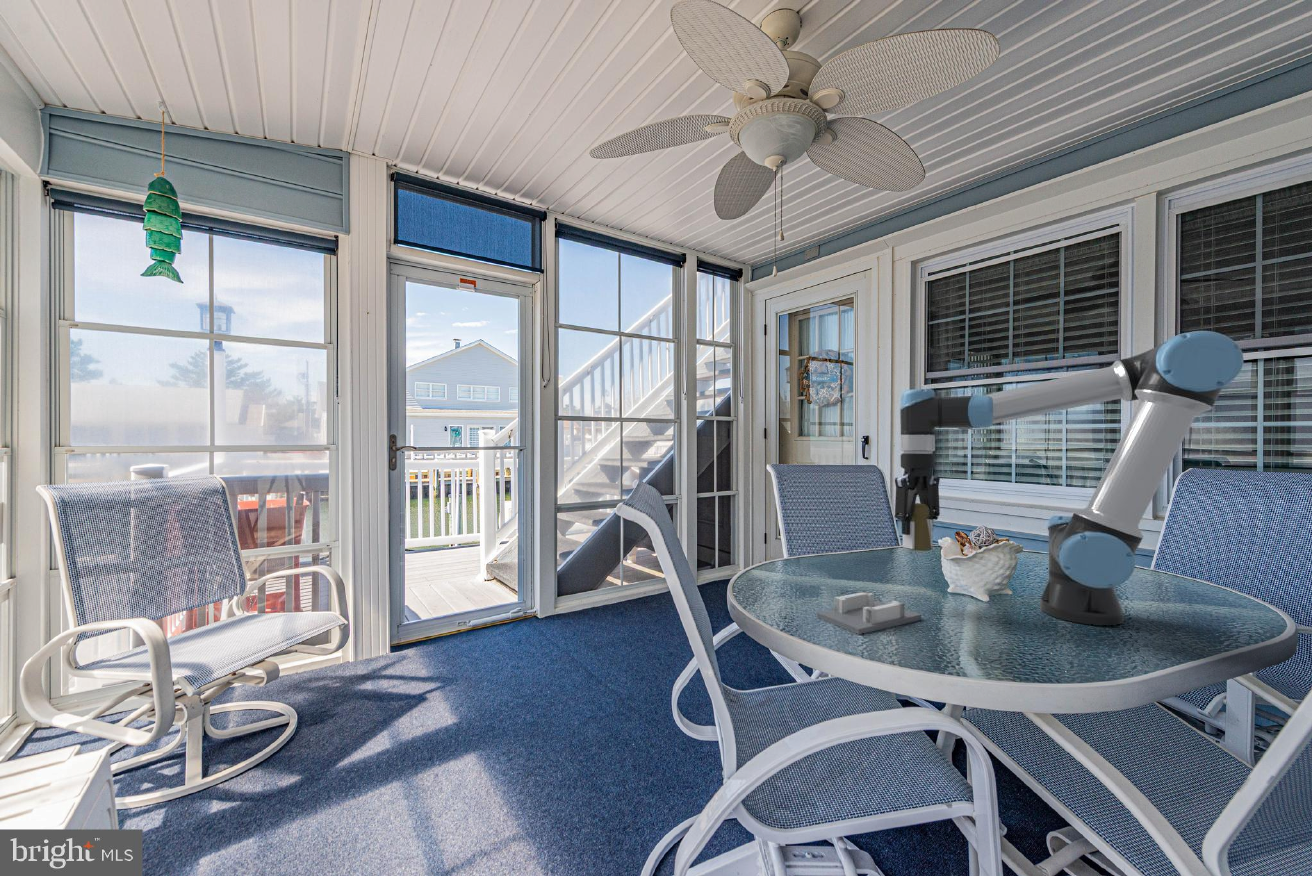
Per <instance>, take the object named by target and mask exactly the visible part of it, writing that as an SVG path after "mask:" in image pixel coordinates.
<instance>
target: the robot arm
mask: <svg viewBox="0 0 1312 876" xmlns="http://www.w3.org/2000/svg"><path fill="white" fill-rule="evenodd" d="M1243 366H1244V353H1243V351H1242V349H1241V348H1240V346H1239V345H1238V343H1237V342H1236V341H1235V340H1233V339H1232V338H1230V337H1228V336H1227V335H1225V334H1222V333H1220V332H1216V331H1210V330H1196V331H1195V330H1194V331H1189V332H1184V333H1180V334H1177V335H1174V336H1172V337H1171V338H1169V339H1167V340H1166V341H1165V342H1163V343H1161V344H1159V345H1157V346H1155V347H1153V348H1151V349H1149V350H1146V351H1144V352H1141V353H1139V354H1136V355H1133V356H1130V357H1127V358H1122V359H1118V360H1115V361H1114V362H1113V363H1112V365H1110V366H1107V367H1103V368H1099V369H1098V368H1097V369H1094V370H1090V371H1085V372H1081V373H1076V374H1072V375H1067V376H1062V377H1058V378H1055V379H1051V380H1046V381H1041V382H1037V383H1032V384H1028V385H1024V386H1023V385H1022V386H1020V387H1019V386H1018V387H1014V388H1011V389H1007V390H1002V391H997V392H992V393H988V394H985V395H978V394H974V395H963V396H962V395H960V396H946V397H945V396H944V397H943V396H936V393H935V390H933V389H930V388H925V389H924V388H923V389H922V388H918V389H917V388H916V389H907V390H904V391H903V392H902V393H901V397H900V408H899V409H900V411H899V413H900V414H899V415H900V450H901V451H902V452H903V453H901V454H900V468H902V469H904V471H903V475H902V476H901V477H895V478H894V484H895V500H894V501H895V503H894V507H895V508H894V518H895V519H897V520H898V521H901V535H902V548H904V547H905V548H904V549H906V548H909V549H908V550H910V549H914V522H912V517H913V512H914V507H915V503H917V496H918V498H919V503H921V504H925V505H927V506H928V507H929V515H928V517H927V522H928V529H929V536H930V543H931V548H932V547H933V545H934V543H933V542H934V539H933V536H934V535H933V534H934V520H935V521H936V520H938V519H939V516H940V515H941V514H940V513H941V511H940V510H941V509H940V491H939V487H940V486H939V485H940V479H941V477H939V476H933V474H932V472H931V470H933V469H935V465H936V463H935V462H936V455H935V453H933V452H935V451H936V443H935V442H936V437H935V436H936V434H935V433H936V432H935V430H936V429H959V430H961V431H962V430H963V431H966V430H972V429H981V428H991V426H993V425H994V424H998V423H1003V422H1009V421H1013V420H1014V421H1015V420H1018V419H1023V418H1024V419H1025V418H1028V417H1032V416H1033V417H1034V416H1039V415H1044V414H1049V413H1053V412H1057V411H1058V412H1060V411H1064V410H1069V409H1075V408H1079V407H1085V406H1089V405H1095V404H1099V403H1105V402H1109V401H1114V400H1118V399H1119V400H1123V401H1125V402H1132V401H1137V400H1138V401H1139V403H1138V405H1137V407H1136V409H1135V411H1134V413H1133V415H1132V417H1131V419H1130V421H1129V423H1128V424H1127V427H1126V428H1125V430H1124V433H1123V435H1122V437H1121V438H1120V441H1119V443H1118V445H1117V447H1116V448H1115V451H1114V452H1113V454H1112V457H1111V458H1110V460H1109V463H1108V464H1107V467H1106V469H1105V471H1104V472H1103V474H1102V477H1101V479H1100V480H1099V483H1098V484H1097V487H1096V489H1095V490H1094V493H1093V495H1092V496H1091V499H1090V500H1089V502H1088V504H1087V505H1086V507H1085V508H1082V509H1079V510H1075V511H1073V515H1071V516H1070V515H1066V516H1065V515H1053V516H1051V517H1049V519H1048V525H1047V531H1048V579H1047V582H1046V584H1045V587H1044V589H1043V592H1042V594H1041V597H1040V600H1039V609H1040V610H1041V612H1043V613H1044V614H1046V615H1049V616H1051V617H1053V618H1057V619H1061V620H1064V621H1069V622H1074V623H1078V624H1083V625H1085V624H1086V625H1091V624H1093V626H1102V625H1107V626H1108V625H1109V627H1111V626H1110V625H1113V626H1116V625H1115V624H1120V623H1122V624H1124V622H1123V621H1124V610H1123V607H1122V605H1121V603H1120V600H1119V598H1118V595H1117V593H1116V590H1115V587H1118V586H1120V585H1121V584H1124V583H1125V582H1126V581H1128V580H1129V579H1130V577H1132V575H1133V573H1134V571H1135V565H1136V558H1135V553H1136V551H1137V550H1138V548H1139V547H1140V546H1139V545H1140V544H1141V543H1142V540H1143V538H1144V534H1143V532H1141V529H1140V528H1139V524H1140V522H1141V521H1142V519H1143V517H1144V515H1145V513H1146V511H1147V509H1148V507H1149V505H1150V503H1151V502H1152V499H1153V497H1155V496H1154V495H1155V494H1156V492H1157V490H1158V488H1159V486H1160V484H1161V483H1162V481H1163V479H1164V477H1165V476H1166V473H1167V471H1168V469H1169V467H1170V466H1171V464H1172V461H1173V460H1174V458H1175V456H1176V454H1177V452H1178V450H1179V448H1180V446H1181V445H1182V443H1183V441H1184V439H1185V438H1186V435H1187V433H1188V432H1189V430H1190V428H1191V425H1192V424H1193V421H1194V420H1195V419H1196V416H1198V415H1199V414H1202V413H1205V412H1208V411H1211V410H1212V408H1213V406H1214V405H1215V403H1216V401H1217V399H1218V397H1219V396H1220V394H1221V391H1222V390H1223V388H1224V387H1226V386H1228V385H1229V384H1230V383H1232V381H1234V380H1235V379H1236V378H1237V377H1238V376H1239V374H1240V372H1241V371H1242V368H1243ZM1120 625H1121V624H1120ZM1107 626H1106V627H1107Z"/></svg>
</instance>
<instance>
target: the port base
mask: <svg viewBox="0 0 1312 876" xmlns="http://www.w3.org/2000/svg"><path fill="white" fill-rule="evenodd" d="M833 601H834V602H833V609H828V610H823V611H819V612H816V618H817V617H818V618H817V619H819V618H820V619H819V620H821V619H823V620H822V621H824V622H826V621H827V623H829V624H831V623H832V625H834V624H835V625H834V626H836V625H837V627H838V626H840V627H839V628H841V627H842V628H841V629H843V628H845V629H844V630H846V629H847V630H846V631H848V630H850V631H849V632H851V633H853V632H854V633H853V634H856V633H857V634H856V635H859V634H860V635H863V634H862V633H864V634H868V633H872V632H877V631H881V630H885V629H889V628H893V627H897V626H901V625H905V624H909V623H914V622H919V621H921V620H922V613H921V614H920V613H917V612H914V611H911V610H908V609H905V603H904V602H901V601H897V600H893V601H891V602H890V603H886V602H883V601H880V600H875V594H874V593H873V592H869V591H862V592H857V593H850V594H845V595H840V596H836V597H834V598H833ZM860 635H859V636H860Z"/></svg>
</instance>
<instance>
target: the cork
mask: <svg viewBox="0 0 1312 876" xmlns="http://www.w3.org/2000/svg"><path fill="white" fill-rule="evenodd" d="M928 515H929V507H928V506H927V505H925V504H921V503H920V502H918V503H917V502H915V507H914V512H913V517H912V522H914V549H909V548H905V547H903V548H904V549H907V550H909V551H910V550H911V551H917V552H922V551H923V552H928V551H932V547H931V543H930V536H929V529H928V522H927V517H928Z"/></svg>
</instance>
